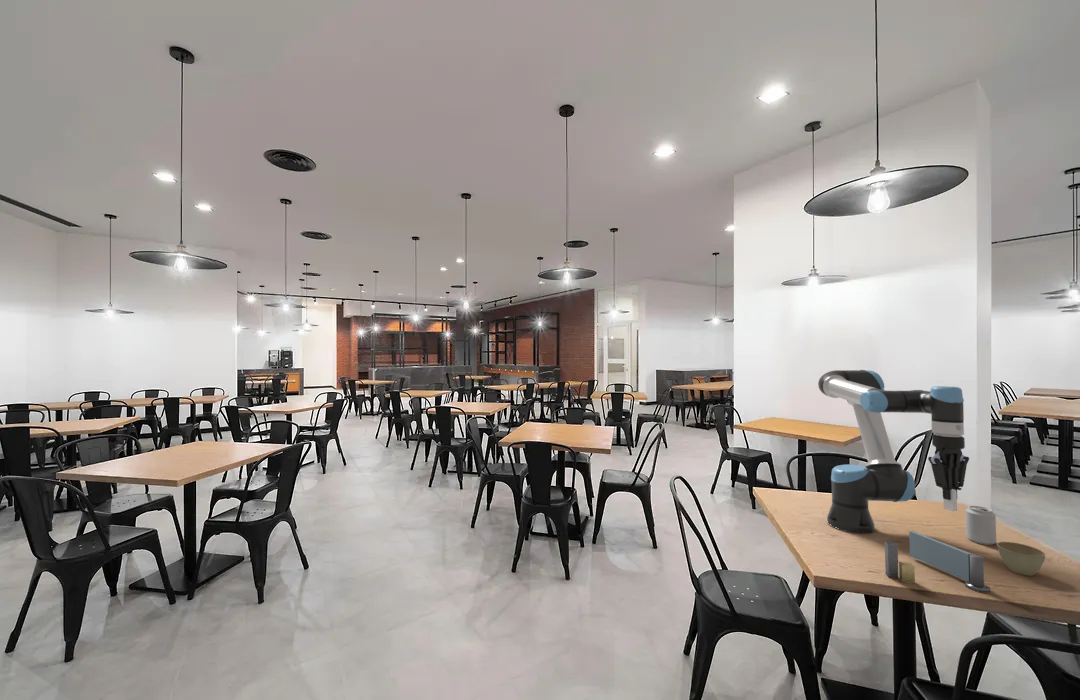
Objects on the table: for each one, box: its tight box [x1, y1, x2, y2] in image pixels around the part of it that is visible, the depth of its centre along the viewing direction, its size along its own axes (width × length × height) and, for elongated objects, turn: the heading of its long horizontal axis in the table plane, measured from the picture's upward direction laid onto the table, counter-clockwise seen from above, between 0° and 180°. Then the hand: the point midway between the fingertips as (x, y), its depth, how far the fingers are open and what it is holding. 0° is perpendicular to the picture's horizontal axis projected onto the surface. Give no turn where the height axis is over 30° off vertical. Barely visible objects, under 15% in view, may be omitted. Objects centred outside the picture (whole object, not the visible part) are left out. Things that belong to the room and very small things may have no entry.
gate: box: [908, 530, 985, 587], centre depth 132 cm, size 20×3×8 cm, turn 9°
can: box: [965, 505, 997, 546], centre depth 155 cm, size 8×8×12 cm
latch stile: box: [884, 540, 916, 584], centre depth 129 cm, size 6×4×10 cm
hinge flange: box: [964, 580, 991, 593], centre depth 124 cm, size 5×5×1 cm
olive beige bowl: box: [996, 541, 1046, 577], centre depth 133 cm, size 10×10×7 cm
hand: (950, 509), depth 137 cm, fingers closed
